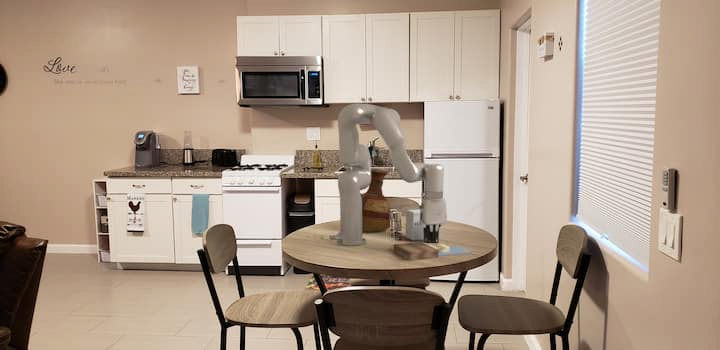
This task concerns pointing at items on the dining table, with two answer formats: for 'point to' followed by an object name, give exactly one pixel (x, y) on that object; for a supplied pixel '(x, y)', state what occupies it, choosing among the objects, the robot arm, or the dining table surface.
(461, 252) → the rubber mat
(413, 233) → the supplement box
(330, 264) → the dining table surface
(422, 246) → the walnut block
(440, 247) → the birch slab
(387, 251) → the dining table surface
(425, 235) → the battery
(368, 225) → the brown vase
